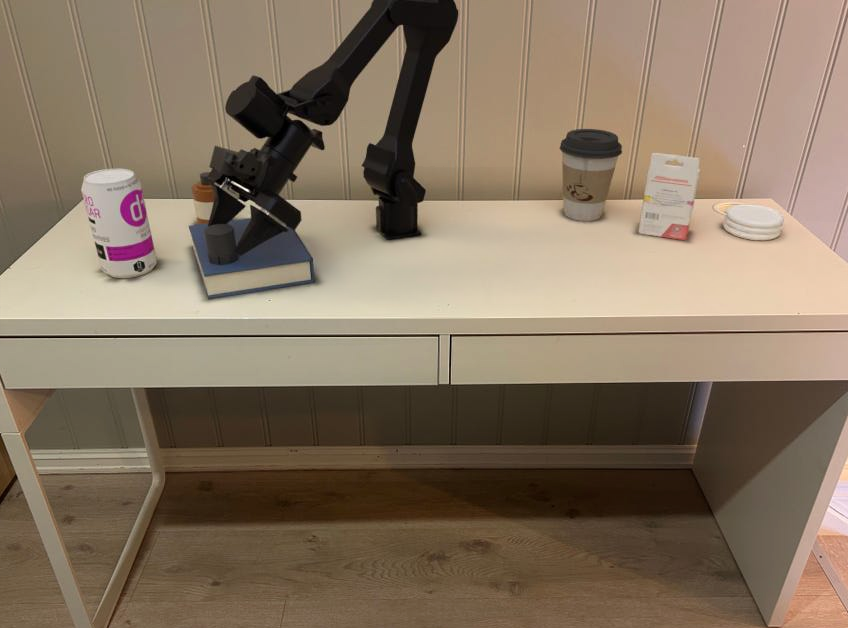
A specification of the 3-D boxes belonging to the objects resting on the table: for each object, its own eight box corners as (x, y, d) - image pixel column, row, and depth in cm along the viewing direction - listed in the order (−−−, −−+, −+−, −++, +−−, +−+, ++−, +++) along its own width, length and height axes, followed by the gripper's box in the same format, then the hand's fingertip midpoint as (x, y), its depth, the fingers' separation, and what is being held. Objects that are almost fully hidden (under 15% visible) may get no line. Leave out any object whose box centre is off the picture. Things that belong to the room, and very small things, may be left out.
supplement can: (168, 262, 118) (150, 171, 110) (134, 283, 111) (112, 187, 103) (127, 254, 120) (106, 164, 112) (90, 275, 114) (65, 180, 106)
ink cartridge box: (688, 231, 134) (705, 151, 126) (685, 241, 130) (702, 159, 122) (641, 224, 136) (654, 145, 129) (636, 233, 132) (650, 152, 125)
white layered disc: (749, 244, 129) (754, 226, 127) (711, 225, 137) (715, 207, 135) (791, 236, 133) (797, 218, 131) (751, 218, 140) (756, 200, 138)
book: (286, 235, 128) (284, 213, 126) (315, 282, 113) (313, 258, 111) (192, 248, 123) (188, 225, 121) (208, 299, 108) (204, 274, 105)
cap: (220, 251, 112) (216, 222, 110) (243, 256, 111) (239, 226, 108) (203, 262, 109) (198, 231, 106) (226, 266, 108) (221, 236, 105)
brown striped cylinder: (228, 215, 136) (221, 167, 131) (233, 227, 131) (226, 177, 126) (195, 219, 134) (187, 171, 129) (199, 231, 129) (191, 181, 124)
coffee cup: (545, 219, 137) (553, 139, 130) (561, 200, 146) (569, 124, 138) (605, 229, 134) (617, 147, 126) (618, 209, 143) (629, 131, 135)
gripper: (209, 111, 109) (152, 198, 109) (273, 138, 97) (209, 237, 97) (263, 154, 117) (210, 235, 117) (327, 184, 106) (269, 274, 105)
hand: (222, 244), depth 109 cm, fingers open, 9 cm apart
